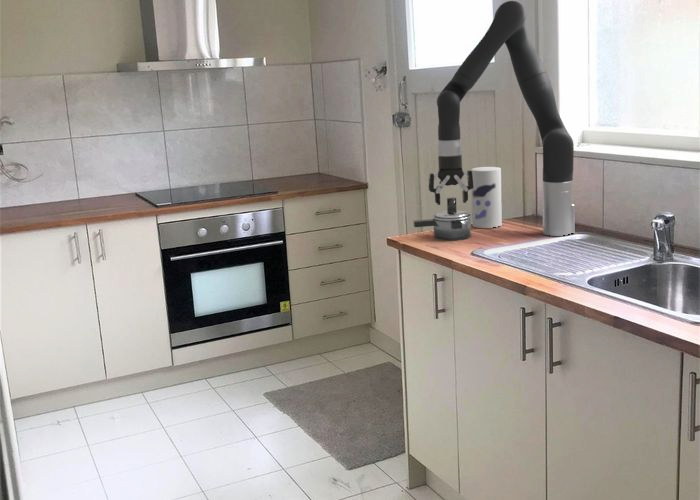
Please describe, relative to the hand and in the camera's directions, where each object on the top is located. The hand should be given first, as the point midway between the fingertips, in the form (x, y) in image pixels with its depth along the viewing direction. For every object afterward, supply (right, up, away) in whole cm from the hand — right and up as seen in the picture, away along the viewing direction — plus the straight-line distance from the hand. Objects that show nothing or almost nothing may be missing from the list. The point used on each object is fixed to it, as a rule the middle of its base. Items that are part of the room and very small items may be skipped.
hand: (451, 203), depth 254 cm
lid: (0, -4, +1) cm, 4 cm away
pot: (-2, -11, +1) cm, 12 cm away
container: (+14, -7, +16) cm, 23 cm away
